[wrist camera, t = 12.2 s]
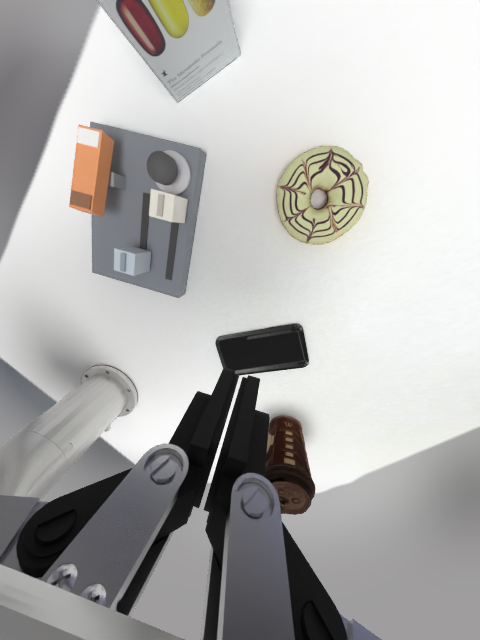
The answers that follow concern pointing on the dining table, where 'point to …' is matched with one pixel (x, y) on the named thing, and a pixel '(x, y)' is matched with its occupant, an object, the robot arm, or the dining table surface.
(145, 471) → the robot arm
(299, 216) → the decorated donut
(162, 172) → the push button
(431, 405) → the dining table surface
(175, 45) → the supplement box
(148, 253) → the slate knob
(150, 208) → the ivory knob
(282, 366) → the phone
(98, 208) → the rocker switch
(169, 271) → the console
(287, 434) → the coffee cup
